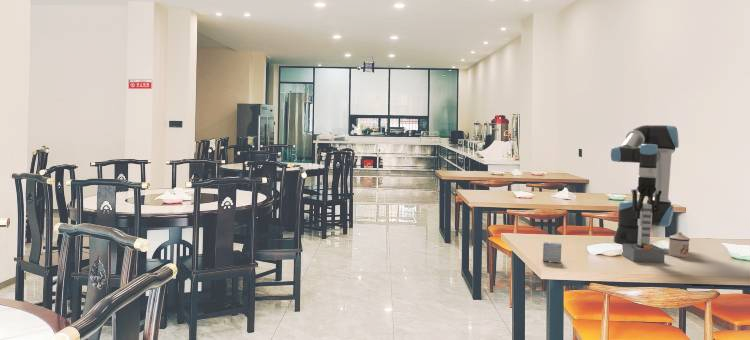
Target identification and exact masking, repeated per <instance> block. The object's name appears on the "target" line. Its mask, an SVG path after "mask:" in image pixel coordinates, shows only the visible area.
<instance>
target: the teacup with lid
mask: <svg viewBox="0 0 750 340" xmlns="http://www.w3.org/2000/svg"><path fill="white" fill-rule="evenodd" d="M668 239H669V241H668V255H669V256H671V257H674V258H675V257H677V258H688V257H689V251H690V248H689V247H690V246H689V245H690V237H688V236H685V235H684V234H683V233H682V232H681V231H678V232H676V233H675V234H673V235H670V236H669V237H668Z"/></svg>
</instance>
